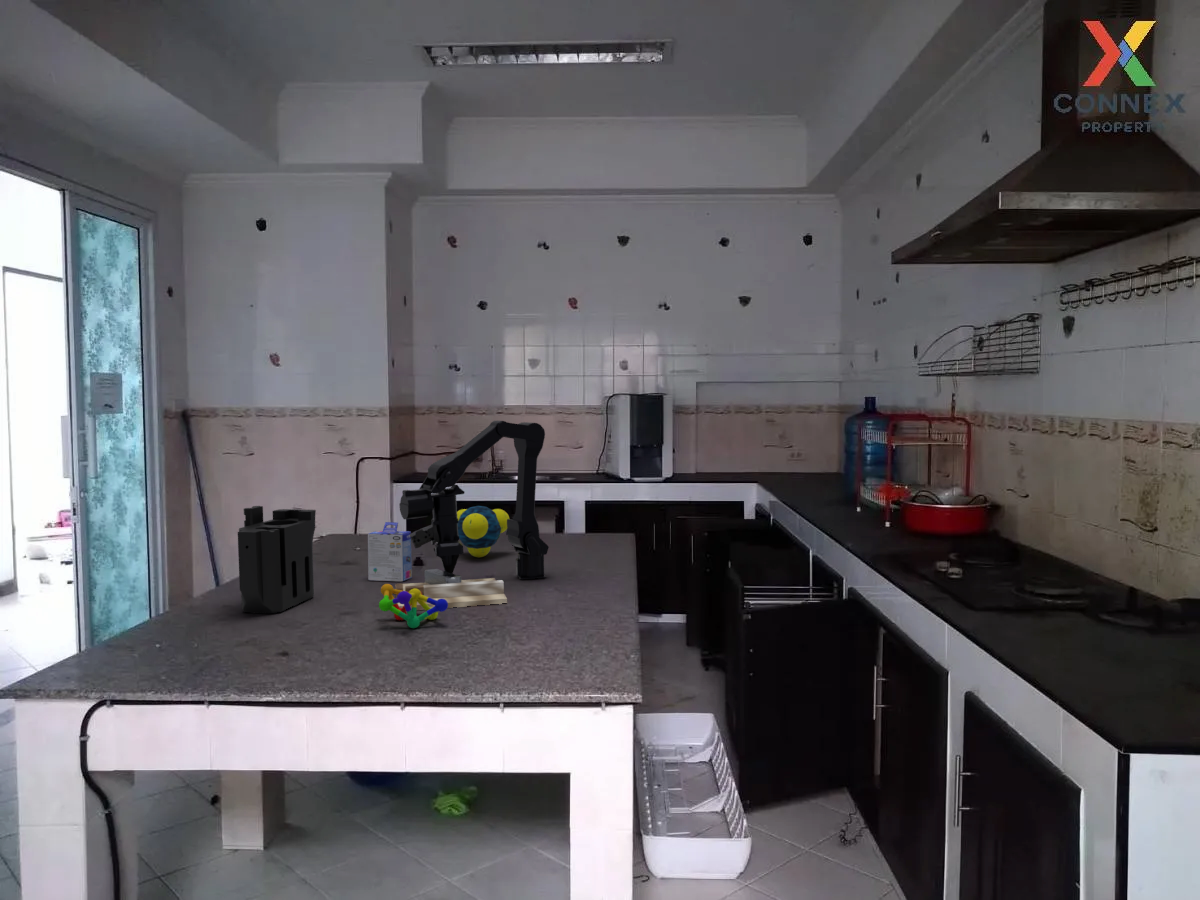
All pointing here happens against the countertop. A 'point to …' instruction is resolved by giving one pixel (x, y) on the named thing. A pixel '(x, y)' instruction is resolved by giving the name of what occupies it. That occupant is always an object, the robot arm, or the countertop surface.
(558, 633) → the countertop surface
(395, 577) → the ink cartridge box
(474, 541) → the toy
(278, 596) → the black machined bracket
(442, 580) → the latch bar
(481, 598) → the board
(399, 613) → the decorative model
